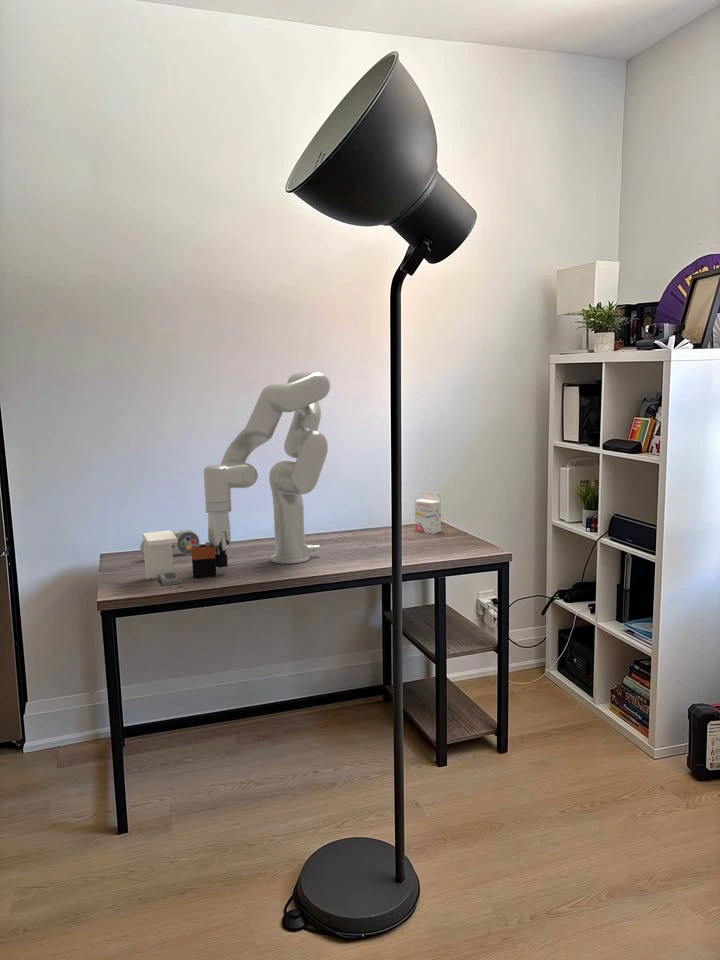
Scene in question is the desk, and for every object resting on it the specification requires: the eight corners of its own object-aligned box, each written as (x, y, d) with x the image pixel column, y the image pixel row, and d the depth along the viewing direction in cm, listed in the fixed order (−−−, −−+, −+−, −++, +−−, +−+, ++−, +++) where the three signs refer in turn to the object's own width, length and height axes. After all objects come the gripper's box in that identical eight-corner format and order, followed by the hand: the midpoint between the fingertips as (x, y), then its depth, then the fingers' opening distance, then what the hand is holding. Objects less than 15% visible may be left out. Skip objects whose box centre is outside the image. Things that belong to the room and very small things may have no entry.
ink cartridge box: (414, 531, 270) (413, 492, 268) (421, 529, 274) (421, 490, 272) (434, 534, 265) (433, 494, 263) (441, 531, 269) (441, 492, 267)
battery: (216, 576, 218) (214, 543, 216) (193, 578, 216) (191, 545, 215) (216, 572, 222) (214, 540, 220) (193, 574, 221) (191, 542, 219)
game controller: (143, 562, 238) (141, 537, 236) (141, 560, 239) (139, 535, 238) (200, 552, 248) (199, 528, 246) (198, 551, 250) (197, 527, 248)
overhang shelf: (173, 574, 221) (170, 530, 219) (180, 584, 210) (177, 538, 208) (146, 578, 218) (142, 533, 216) (151, 588, 207) (148, 541, 205)
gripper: (200, 503, 223) (204, 562, 226) (211, 512, 210) (214, 574, 213) (225, 501, 226) (228, 559, 229) (237, 509, 213) (240, 571, 215)
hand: (221, 566), depth 221 cm, fingers closed
